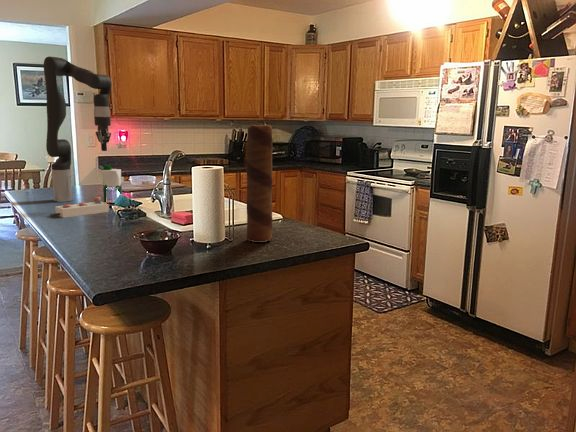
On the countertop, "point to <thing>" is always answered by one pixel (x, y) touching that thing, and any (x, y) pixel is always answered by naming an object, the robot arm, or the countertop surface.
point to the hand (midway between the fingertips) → (104, 150)
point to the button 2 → (82, 204)
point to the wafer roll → (259, 182)
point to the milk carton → (111, 179)
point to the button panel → (81, 209)
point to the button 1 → (66, 206)
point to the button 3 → (97, 199)
